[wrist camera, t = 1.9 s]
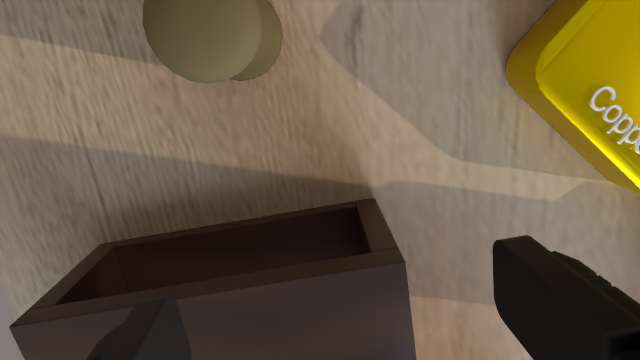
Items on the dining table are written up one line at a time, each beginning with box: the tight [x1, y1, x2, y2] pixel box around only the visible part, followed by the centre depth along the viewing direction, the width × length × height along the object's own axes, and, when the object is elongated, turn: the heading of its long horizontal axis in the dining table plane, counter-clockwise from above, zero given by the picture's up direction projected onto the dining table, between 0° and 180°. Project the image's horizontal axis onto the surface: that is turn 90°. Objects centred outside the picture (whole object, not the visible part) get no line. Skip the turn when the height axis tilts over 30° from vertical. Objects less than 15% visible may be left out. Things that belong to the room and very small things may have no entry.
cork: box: [143, 0, 282, 84], centre depth 22 cm, size 6×6×11 cm
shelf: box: [10, 198, 416, 360], centre depth 27 cm, size 14×22×13 cm, turn 100°
